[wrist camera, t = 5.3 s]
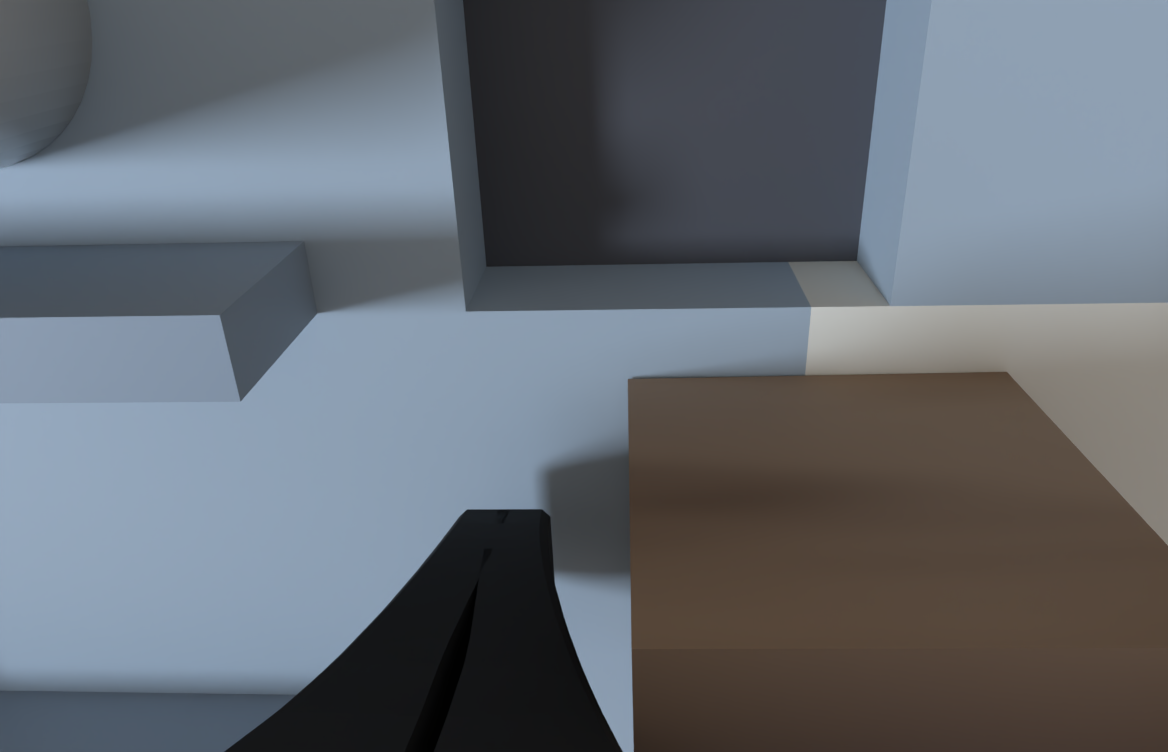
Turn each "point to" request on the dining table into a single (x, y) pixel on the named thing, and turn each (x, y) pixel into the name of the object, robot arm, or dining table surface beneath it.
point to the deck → (514, 298)
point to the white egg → (40, 72)
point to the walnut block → (884, 572)
